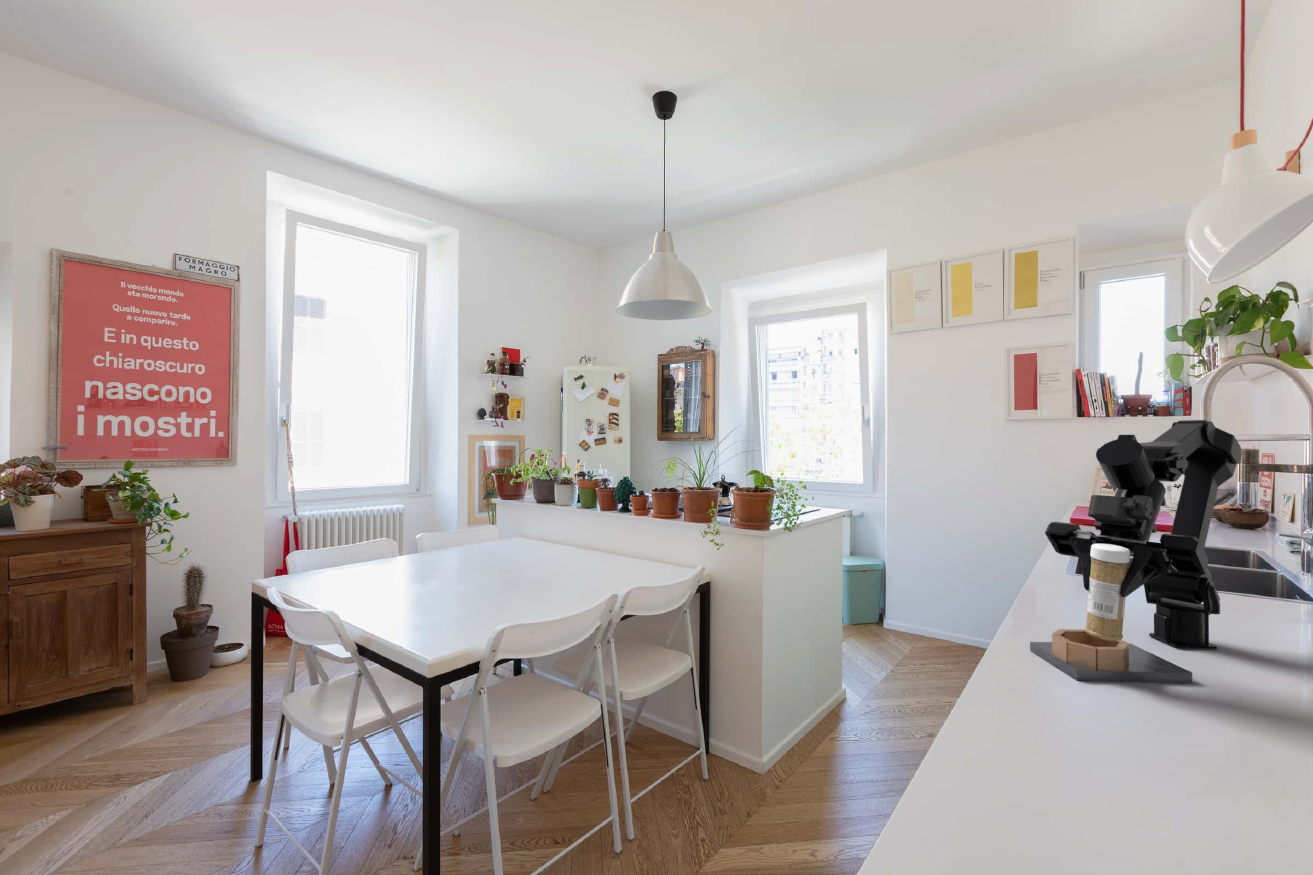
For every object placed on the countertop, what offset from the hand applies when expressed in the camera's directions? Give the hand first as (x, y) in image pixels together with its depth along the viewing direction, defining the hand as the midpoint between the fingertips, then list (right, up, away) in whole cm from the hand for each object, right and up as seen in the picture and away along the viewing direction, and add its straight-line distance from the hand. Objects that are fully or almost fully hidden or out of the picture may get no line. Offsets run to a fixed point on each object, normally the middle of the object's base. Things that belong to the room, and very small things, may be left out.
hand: (1103, 591), depth 85 cm
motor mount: (+5, -13, +6) cm, 15 cm away
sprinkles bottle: (+1, -7, +1) cm, 7 cm away
